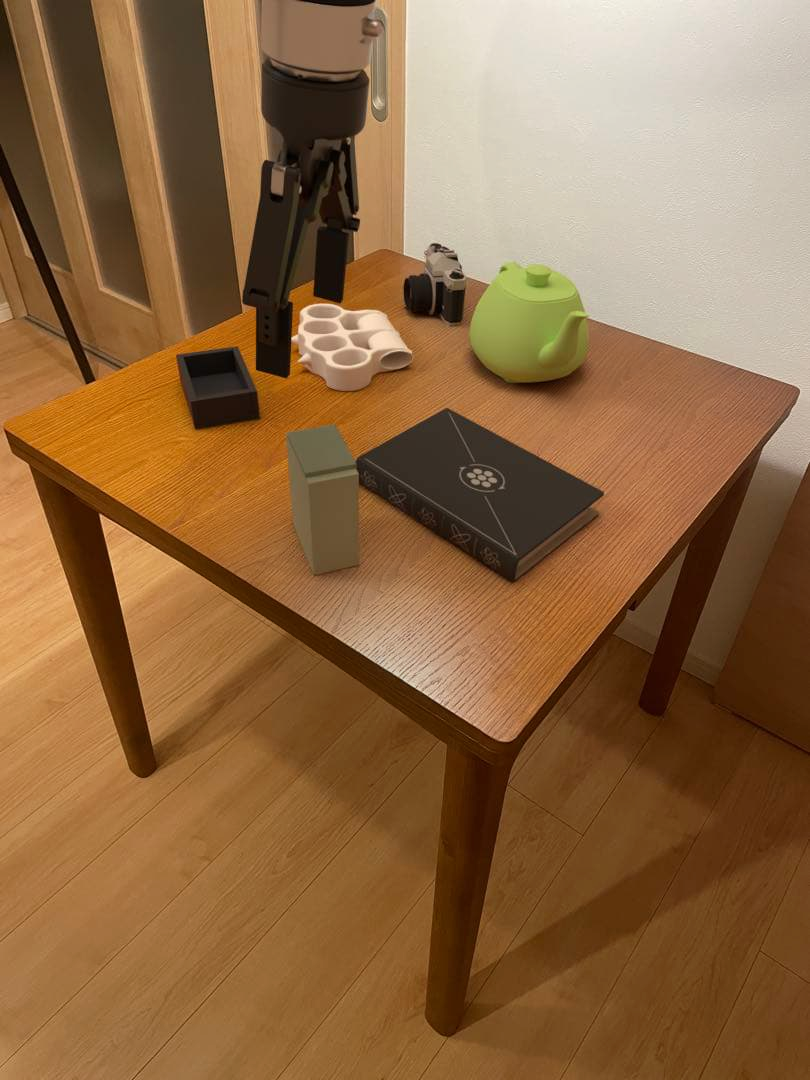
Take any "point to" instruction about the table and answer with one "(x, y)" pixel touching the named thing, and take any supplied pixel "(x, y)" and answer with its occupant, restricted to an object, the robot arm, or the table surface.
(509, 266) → the teapot
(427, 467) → the book
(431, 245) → the camera
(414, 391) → the table surface
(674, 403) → the table surface
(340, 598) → the table surface
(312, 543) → the grey-green lidded box
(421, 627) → the table surface
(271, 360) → the robot arm
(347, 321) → the knuckle duster
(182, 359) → the socket
